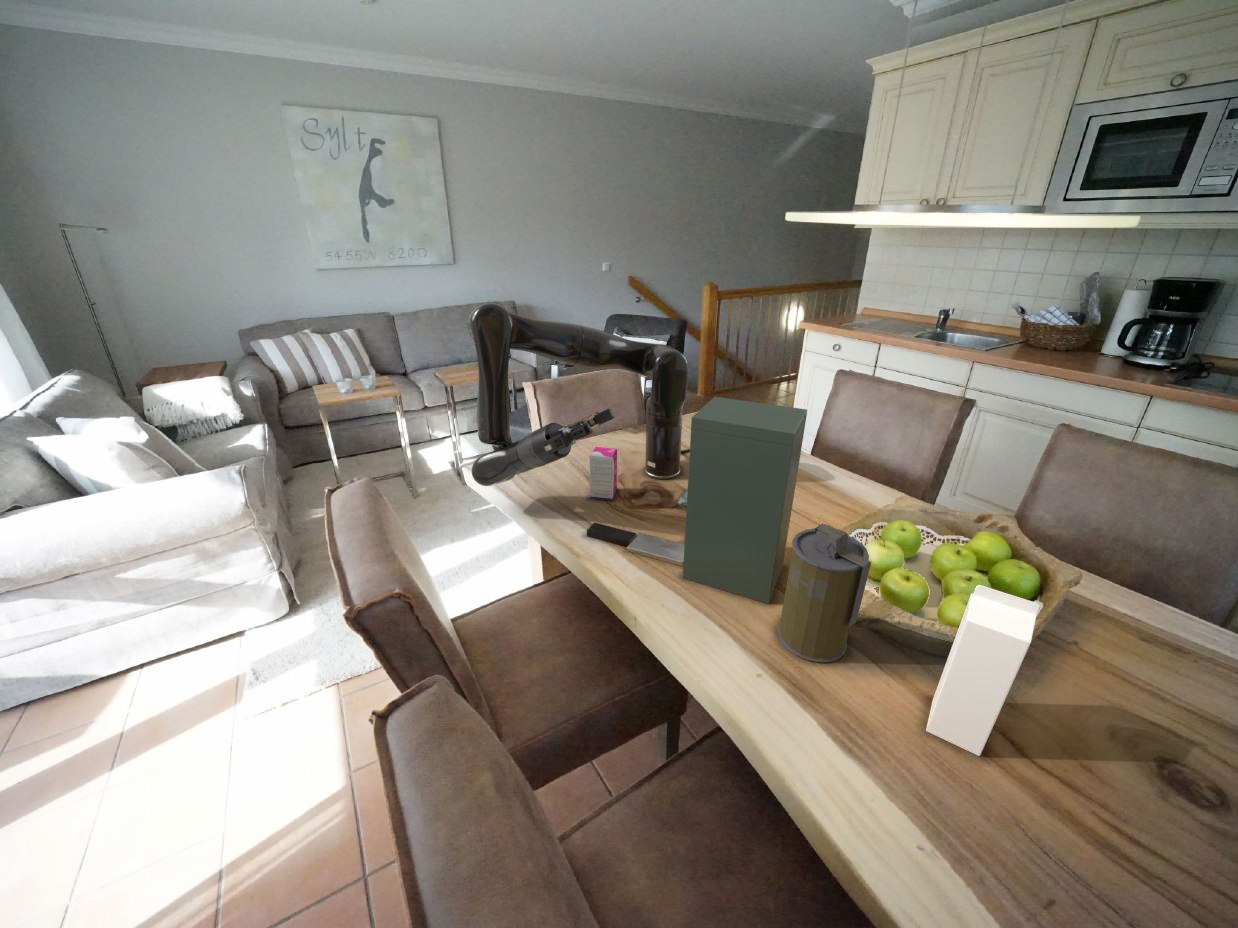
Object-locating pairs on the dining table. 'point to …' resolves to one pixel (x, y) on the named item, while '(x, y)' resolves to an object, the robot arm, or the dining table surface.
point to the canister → (822, 593)
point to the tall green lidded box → (741, 494)
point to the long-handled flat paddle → (640, 543)
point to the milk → (981, 667)
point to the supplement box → (603, 473)
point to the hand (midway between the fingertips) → (601, 420)
